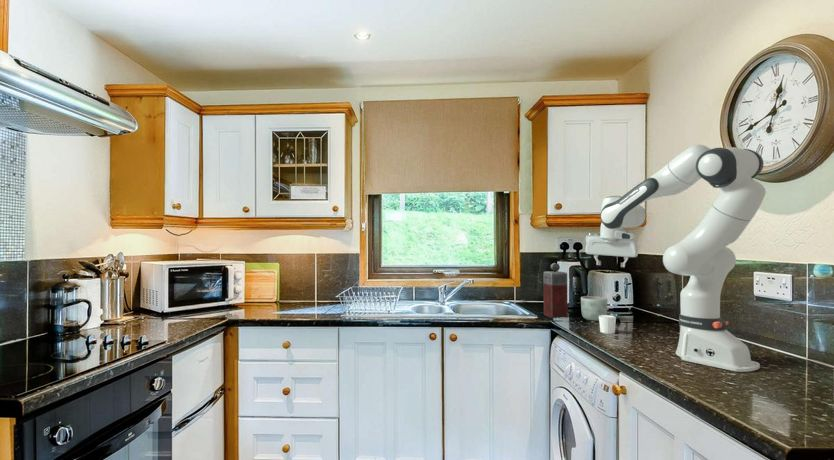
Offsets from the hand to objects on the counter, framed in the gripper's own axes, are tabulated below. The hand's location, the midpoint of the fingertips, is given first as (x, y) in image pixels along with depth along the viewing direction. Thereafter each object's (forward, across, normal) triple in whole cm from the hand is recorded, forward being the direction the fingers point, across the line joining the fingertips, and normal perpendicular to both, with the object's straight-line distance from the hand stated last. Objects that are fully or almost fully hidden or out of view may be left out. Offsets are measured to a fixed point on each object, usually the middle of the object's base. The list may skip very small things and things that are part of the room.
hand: (610, 266), depth 168 cm
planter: (+32, -11, +27) cm, 43 cm away
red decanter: (+33, -30, +25) cm, 51 cm away
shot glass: (+30, 0, +1) cm, 30 cm away
